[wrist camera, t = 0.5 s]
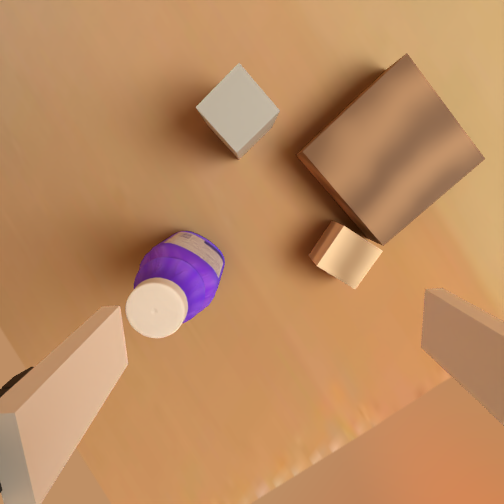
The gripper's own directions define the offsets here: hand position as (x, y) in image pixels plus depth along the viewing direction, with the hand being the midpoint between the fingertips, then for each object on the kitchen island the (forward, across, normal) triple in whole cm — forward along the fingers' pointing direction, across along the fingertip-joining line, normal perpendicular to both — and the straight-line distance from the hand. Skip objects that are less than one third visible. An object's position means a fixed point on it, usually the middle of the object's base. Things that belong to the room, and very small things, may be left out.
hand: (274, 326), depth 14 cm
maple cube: (+25, +10, -2) cm, 27 cm away
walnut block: (+26, +14, +8) cm, 30 cm away
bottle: (+26, -7, -2) cm, 27 cm away
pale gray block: (+25, -1, +12) cm, 28 cm away
